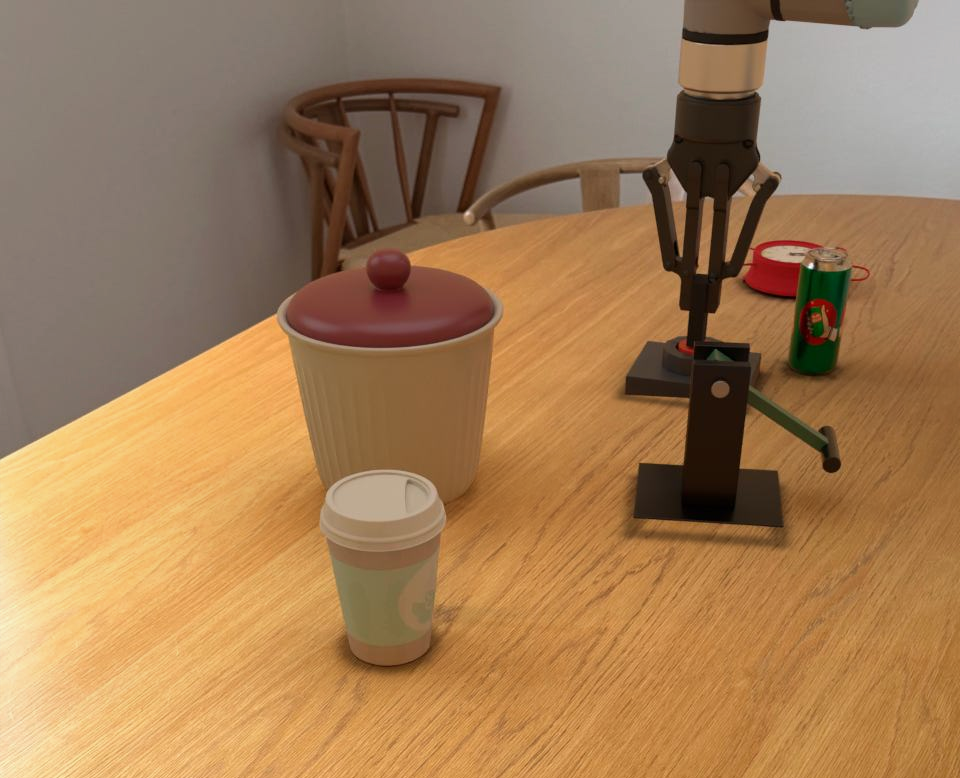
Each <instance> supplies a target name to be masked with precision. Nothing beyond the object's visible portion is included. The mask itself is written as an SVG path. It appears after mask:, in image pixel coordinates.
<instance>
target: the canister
mask: <svg viewBox="0 0 960 778" xmlns="http://www.w3.org/2000/svg"><path fill="white" fill-rule="evenodd" d="M504 309H505V308H504V304H503V302H502V300H501V299H500V297H499V296H498V295H497V294H495V292H493V291H492V290H491V289H488V288H487V287H485V286H483V285H481V284H479V283H478V282H477V281H476V280H473V279H472V278H470V277H468V276H465V275H463V274H459V273H456V272H453V271H451V270H445V269H441V268H436V267H429V266H421V265H412V264H411V261H410V258H409V257H408V255H407V254H406V253H405V252H403V251H402V250H399V249H397V248H391V247H385V248H380V249H377V250H375V251H373V253H371V254H370V255H369V256H368V258H367V260H366V262H365V266H363V267H357V268H350V269H347V270H346V269H345V270H342V271H337V272H334V273H330V274H328V275H326V276H325V275H324V276H322V277H320V278H316V279H314V280H313V281H311V282H309V283H307V284H306V285H304V286H302V287H301V288H300V289H299V290H297V291H296V292H295V293H293V294H291V295H289V297H287V298H286V299H285V300H283V301H282V302H281V304H280V305H279V307H278V309H277V311H276V321H277V324H278V326H279V327H280V329H281V330H282V331H283V333H284V334H286V335H287V338H288V343H289V347H290V353H291V359H292V363H293V369H294V372H295V377H296V381H297V384H298V385H297V386H298V390H299V396H300V400H301V405H302V410H303V414H304V415H303V416H304V419H305V424H306V428H307V432H308V436H309V441H310V444H311V445H310V446H311V449H312V454H313V457H314V461H315V465H316V469H317V473H318V476H319V479H320V481H321V483H322V485H323V487H324V489H326V492H328V490H329V489H330V487H331V486H332V485H334V484H335V483H336V482H338V481H339V480H341V479H343V478H345V477H348V476H350V475H353V474H357V473H361V472H366V471H373V470H399V471H406V472H410V473H414V474H417V475H420V476H422V477H424V478H426V479H427V480H429V481H430V482H431V483H432V484H433V485H434V486H435V488H436V490H437V493H438V496H439V498H440V500H441V501H442V503H443V505H444V506H445V505H446V504H450V503H451V502H453V501H455V500H457V499H459V498H460V497H461V496H462V495H465V494H466V492H467V491H468V490H470V488H471V486H472V485H473V483H474V481H475V479H476V476H477V472H478V468H479V464H480V459H481V451H482V444H483V437H484V430H485V422H486V414H487V405H488V397H489V396H488V395H489V388H490V387H489V386H490V376H491V367H492V360H493V351H494V350H493V349H494V338H495V329H496V327H498V325H499V324H500V322H501V320H502V319H503V317H504Z"/></svg>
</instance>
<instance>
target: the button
mask: <svg viewBox="0 0 960 778" xmlns="http://www.w3.org/2000/svg"><path fill="white" fill-rule="evenodd" d="M686 341H687V339H686V340H683V341H681V342H680V343H679V347H678V351H680V352H682V353H685V354H690V355H693V351H694V347H688V346H686ZM705 341H708V340H705Z"/></svg>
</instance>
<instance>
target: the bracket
mask: <svg viewBox="0 0 960 778" xmlns="http://www.w3.org/2000/svg"><path fill="white" fill-rule="evenodd" d="M715 349H717V350H718V351H720V352H721V353H723V354H724V355H725V356H727V357H728V358H730V359H731V360H733V361H716V360H707V358H708V357H709V356H710V355H711V353H712V352H713V351H714V350H715ZM750 352H751V343H749V342H732V341H731V342H729V341H723V342H710V341H694V351H693V362H692V373H691V385H690V396H689V398H688V409H687V419H686V431H685V443H684V454H683V464H670V463H669V464H668V463H651V462H639V463H638V470H637V479H636V480H637V481H636V490H635V499H634V509H633V519H640V520H641V519H643V520H656V521H657V520H658V521H672V522H690V523H705V524H720V525H721V524H722V525H735V526H736V525H737V526H751V527H752V526H753V527H767V528H768V527H769V528H784V520H783V519H784V518H783V510H782V499H781V490H780V489H781V488H780V478H779V471H778V470H775V469H773V470H772V469H756V468H755V469H754V468H741V460H742V452H743V451H742V450H743V442H744V436H745V435H744V433H745V425H746V416H747V409H748V403H747V401H748V393H749V384H750V376H751V362H749V353H750Z"/></svg>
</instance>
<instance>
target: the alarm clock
mask: <svg viewBox="0 0 960 778" xmlns="http://www.w3.org/2000/svg"><path fill="white" fill-rule="evenodd" d="M814 248H826V247H825V246H823V245H820V244H818V243H813V242H809V241H804V240H794V239H793V240H792V239H780V240H779V239H777V240H769V241H765V242H762V243H759V244H757V245H756V246H755V247H750V248H749V250H751V251H753V252H752V261H751V262H747V263H744V265H743V267H749V266H750V267H749V269H748V270H747V272H746V274H745V276H743V277H742V278H741V279H742V282H743V281H744V280H745V283H746V285H748V287H750V288H752V289H754V290H756V291H759V292H763V293H766V294H770V295H776V296H783V297H785V296H786V297H796V295H797V288H798V280H799V273H800V265H801V262H802V260H803V259H804V258H805V257H806V252H807V251H808V250H810V249H814ZM834 248H835V249H840V250H843V251H846V252H848V250H847V249H846V248H845V247H841V246H836V247H834ZM851 264H852V266H853V267H852V269H859V270H863V271H865V272H866V273H867V275H866V276H865V277H862V278H851V280H850V282H861V281H862V282H863V281H865V280H868V279H869V278H870V276H871V272H870V270H869V269H868V268H867V267H864V266H860V265H854V264H853V263H852V262H851Z"/></svg>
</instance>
